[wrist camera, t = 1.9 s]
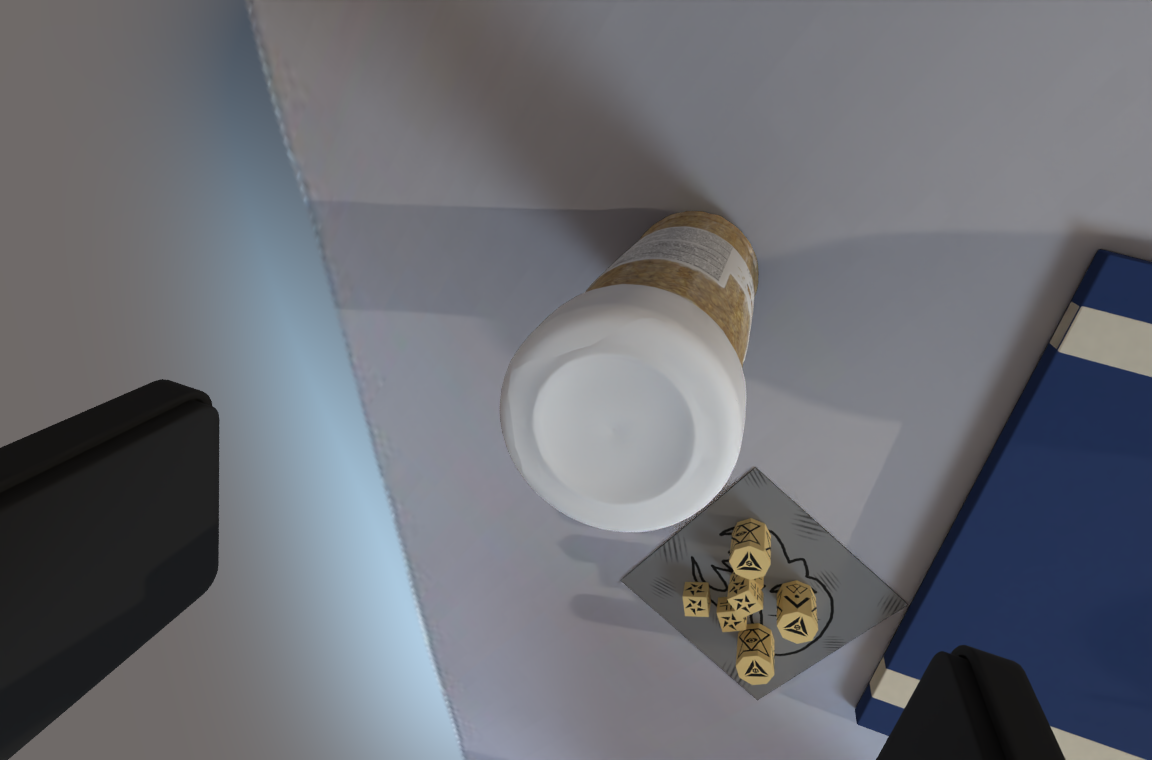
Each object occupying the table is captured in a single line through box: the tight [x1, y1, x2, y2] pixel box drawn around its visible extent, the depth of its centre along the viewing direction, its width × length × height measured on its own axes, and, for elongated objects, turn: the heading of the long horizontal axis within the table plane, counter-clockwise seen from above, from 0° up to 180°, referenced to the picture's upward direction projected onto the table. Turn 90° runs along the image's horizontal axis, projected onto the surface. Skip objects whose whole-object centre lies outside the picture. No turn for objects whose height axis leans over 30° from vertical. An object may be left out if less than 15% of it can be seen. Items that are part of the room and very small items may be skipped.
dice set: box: [681, 518, 819, 686], centre depth 28 cm, size 5×5×2 cm
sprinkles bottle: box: [500, 211, 758, 532], centre depth 19 cm, size 5×5×13 cm
